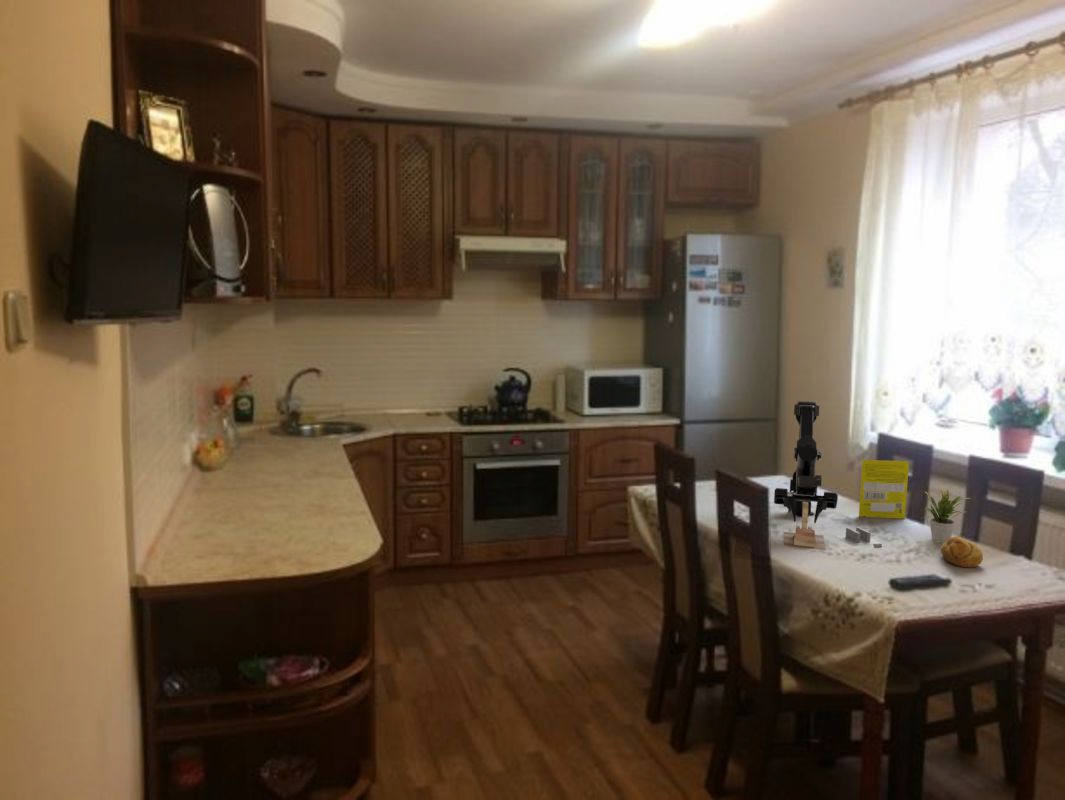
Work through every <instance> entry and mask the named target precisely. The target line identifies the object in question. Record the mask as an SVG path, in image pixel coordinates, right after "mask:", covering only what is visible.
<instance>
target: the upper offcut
mask: <svg viewBox="0 0 1065 800" xmlns="http://www.w3.org/2000/svg"><path fill="white" fill-rule="evenodd" d="M794 533H795V536H796V538H802V539H814V540H815V535H816V532H815V529H812V530H811V529H808V528H807V529H801V528H800V529H799V528H795V532H794Z"/></svg>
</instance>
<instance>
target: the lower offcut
mask: <svg viewBox="0 0 1065 800" xmlns="http://www.w3.org/2000/svg"><path fill="white" fill-rule="evenodd" d="M815 542H816V539H815V540H814V539H802V538H796V536H795V534H794V545H799V546H810V547H815Z"/></svg>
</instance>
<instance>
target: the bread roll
mask: <svg viewBox="0 0 1065 800" xmlns="http://www.w3.org/2000/svg"><path fill="white" fill-rule="evenodd" d="M940 553H941V555H942V557H943V558H944V559H945V560H946V561H947V562H948V563H950V564H951V563H952V565H954V566H956V565H957V567H960V566H961V567H962V568H976V567H978V566H980V565H981V563H982V562H983V560H984V555H983V554H984V553H983V551H982V548H981V547H980V546H979V545H978V544H977V543H975V542H972V541H968V540H967V539H966V538H965V539H964V537H960V536H953V537H952V536H951V538H949V539H947V540H946V541H945V542H943V544H942V546H941V547H940ZM961 567H960V568H961Z"/></svg>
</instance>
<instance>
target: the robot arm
mask: <svg viewBox="0 0 1065 800" xmlns="http://www.w3.org/2000/svg"><path fill="white" fill-rule="evenodd" d="M793 415H794V417H795V422H796V423H797V425H798V426H799V428H798V430H799V431H798V440H796V447H793V459H795V461H796V462H797V463H796V470H795V471H794V472H793V474H792V478H790V480H789V491H788V488H783V487H776V488H775V489H774V492H773V493H774V494H773V495H774V496H773V504H775V505H783V507H784V508H787V511H788V512H789V514H790V516H791V518H792V520H793V522H796V521H797V520H796V517H797V516H798V517H802V509H803V502H808V516H813V515H814V520H813V523H814V524H817V521H818V519H819V518H820V515H821V513H822V512H823V511H825V510H827V509H836V508H837V505H838V500H839V498H838V497H839V496H838V493H837V492H836V491H823V495H817V494H818V487H822V475H820V474H816V468H817V467H816V466H817V461H819V460H820V459H821V458H822V453H821V451H820V450H819V448H818V445H817V444H818V443H817V441H816V440H815V438H814V424H815V422H816V421H817V418H818V417H819V416H820V404H816V401H807V400H798V401H797V403H793ZM814 502H815V503H816V507H815V512H812V503H814Z"/></svg>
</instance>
